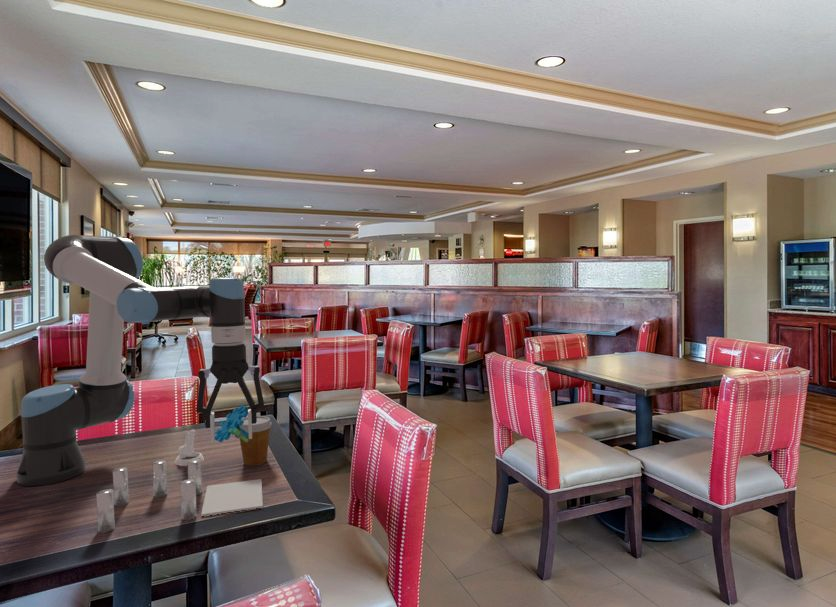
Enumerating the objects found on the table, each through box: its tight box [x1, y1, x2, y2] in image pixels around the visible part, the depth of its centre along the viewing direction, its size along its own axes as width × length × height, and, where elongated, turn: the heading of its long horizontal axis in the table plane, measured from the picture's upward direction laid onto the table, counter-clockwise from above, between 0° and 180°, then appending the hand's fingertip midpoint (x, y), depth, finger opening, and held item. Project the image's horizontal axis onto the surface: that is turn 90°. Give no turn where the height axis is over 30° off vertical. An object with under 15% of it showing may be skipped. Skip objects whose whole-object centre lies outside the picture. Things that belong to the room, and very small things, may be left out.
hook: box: [174, 429, 205, 467], centre depth 146 cm, size 8×12×7 cm
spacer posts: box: [96, 459, 203, 534], centre depth 118 cm, size 19×18×8 cm
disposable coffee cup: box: [239, 415, 272, 467], centre depth 146 cm, size 10×10×12 cm
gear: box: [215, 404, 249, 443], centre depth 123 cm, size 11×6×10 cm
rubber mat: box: [200, 478, 264, 517], centre depth 123 cm, size 13×16×1 cm
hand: (231, 438), depth 122 cm, fingers closed on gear, 8 cm apart
